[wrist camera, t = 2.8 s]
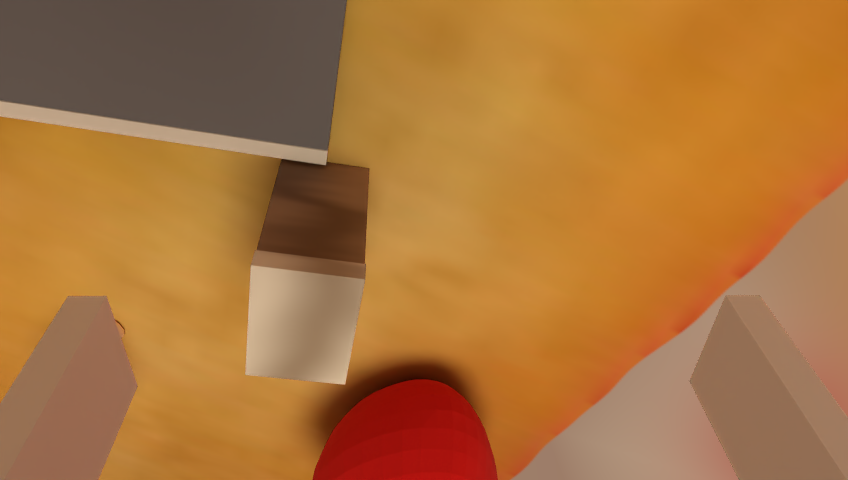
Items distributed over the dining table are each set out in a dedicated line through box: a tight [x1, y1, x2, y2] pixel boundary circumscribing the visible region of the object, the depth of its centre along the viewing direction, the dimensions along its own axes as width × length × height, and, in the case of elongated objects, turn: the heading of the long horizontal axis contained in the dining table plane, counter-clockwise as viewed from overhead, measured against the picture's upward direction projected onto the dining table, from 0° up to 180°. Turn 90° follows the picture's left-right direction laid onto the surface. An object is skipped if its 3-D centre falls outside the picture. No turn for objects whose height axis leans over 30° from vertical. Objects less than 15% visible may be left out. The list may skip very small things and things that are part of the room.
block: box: [245, 159, 369, 385], centre depth 31 cm, size 5×7×9 cm
